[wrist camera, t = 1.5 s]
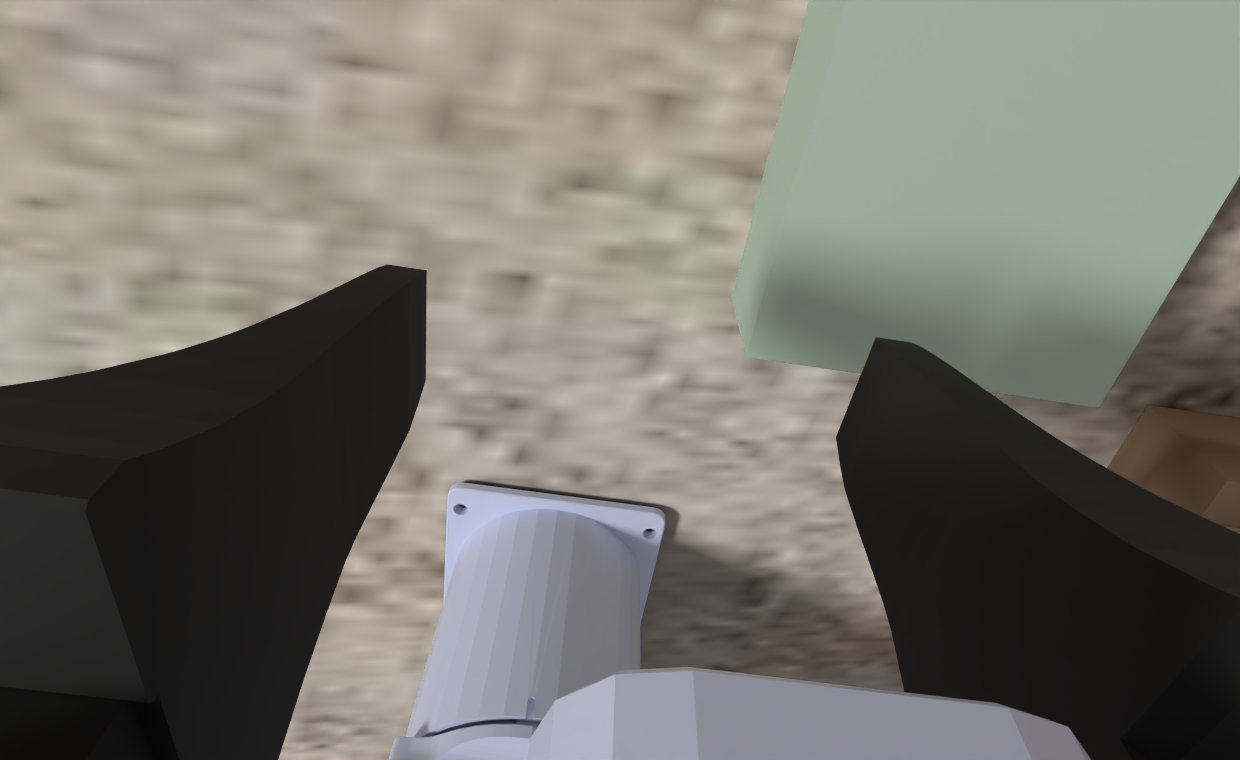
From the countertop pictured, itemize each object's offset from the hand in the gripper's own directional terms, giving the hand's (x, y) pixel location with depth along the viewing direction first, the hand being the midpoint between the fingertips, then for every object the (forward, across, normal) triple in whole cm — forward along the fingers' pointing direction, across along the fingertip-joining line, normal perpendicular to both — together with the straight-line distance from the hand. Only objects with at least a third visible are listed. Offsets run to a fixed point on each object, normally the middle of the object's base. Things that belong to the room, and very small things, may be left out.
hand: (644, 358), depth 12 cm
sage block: (+11, -8, -1) cm, 14 cm away
